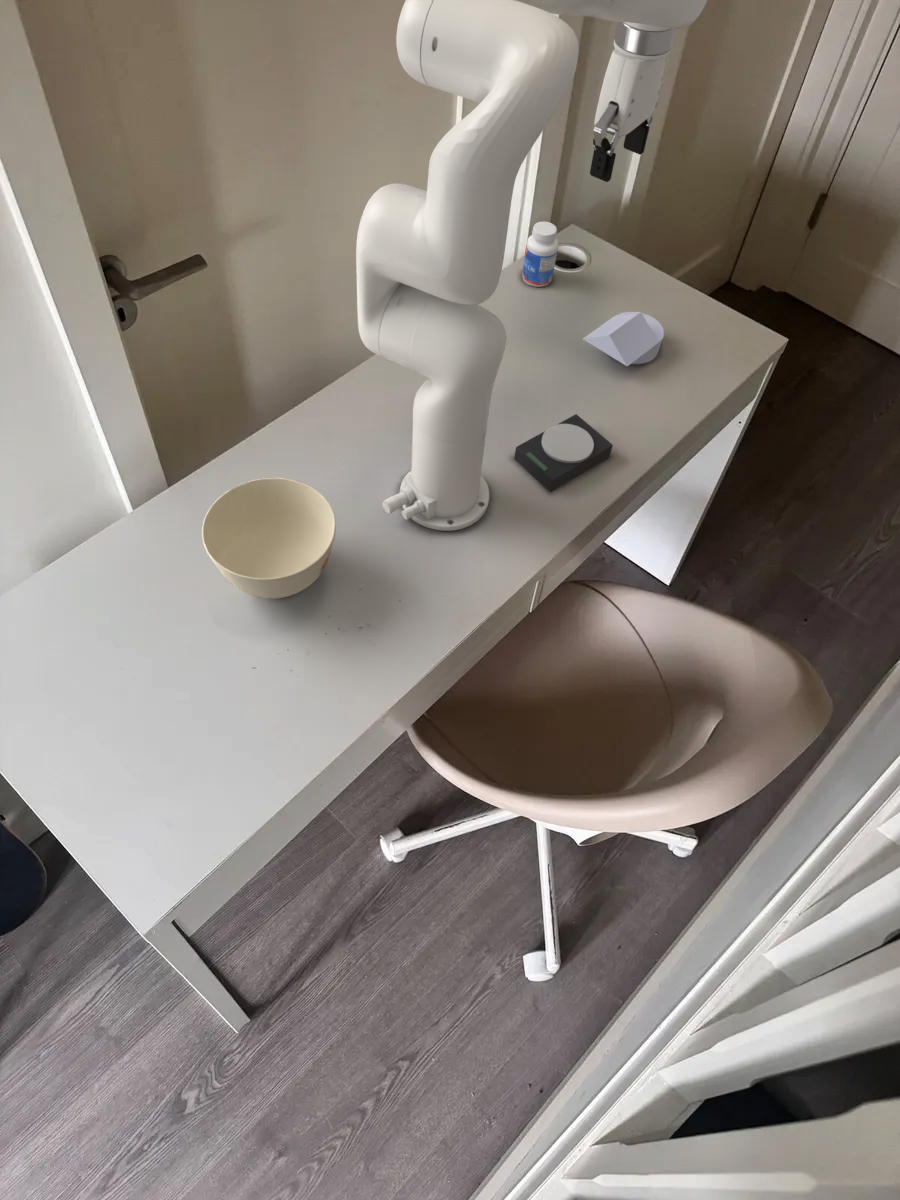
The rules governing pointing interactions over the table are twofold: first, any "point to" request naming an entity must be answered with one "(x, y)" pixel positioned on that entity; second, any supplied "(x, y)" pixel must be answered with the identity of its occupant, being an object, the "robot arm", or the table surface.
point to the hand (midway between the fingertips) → (616, 164)
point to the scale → (563, 452)
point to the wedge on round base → (628, 337)
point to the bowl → (270, 536)
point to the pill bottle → (540, 255)
